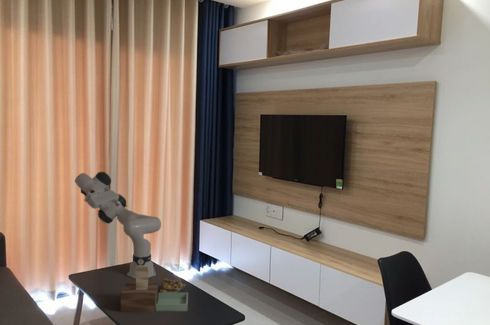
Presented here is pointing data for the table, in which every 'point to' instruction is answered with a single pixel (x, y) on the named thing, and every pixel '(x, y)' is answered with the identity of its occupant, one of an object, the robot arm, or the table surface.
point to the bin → (172, 302)
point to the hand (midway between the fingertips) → (113, 207)
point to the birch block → (142, 277)
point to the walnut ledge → (139, 298)
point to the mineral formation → (171, 286)
